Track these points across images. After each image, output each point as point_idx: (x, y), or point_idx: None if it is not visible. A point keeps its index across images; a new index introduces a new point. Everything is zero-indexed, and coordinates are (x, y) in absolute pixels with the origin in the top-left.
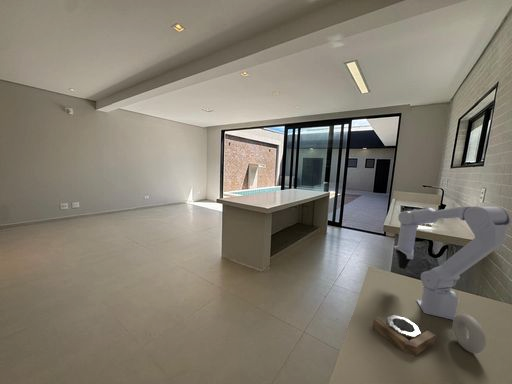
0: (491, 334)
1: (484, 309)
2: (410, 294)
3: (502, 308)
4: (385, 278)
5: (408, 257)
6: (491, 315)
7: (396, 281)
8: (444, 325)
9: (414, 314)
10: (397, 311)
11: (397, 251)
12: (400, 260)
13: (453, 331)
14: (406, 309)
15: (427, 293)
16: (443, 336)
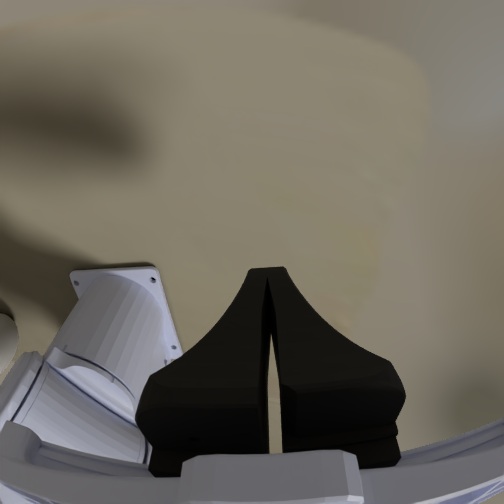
0: None
1: None
2: (212, 251)
3: None
4: (363, 138)
5: (3, 440)
6: None
7: (349, 203)
8: (54, 310)
9: (40, 232)
10: (16, 168)
11: (313, 403)
12: (214, 332)
13: (1, 320)
14: (51, 206)
15: (57, 335)
16: (3, 287)
